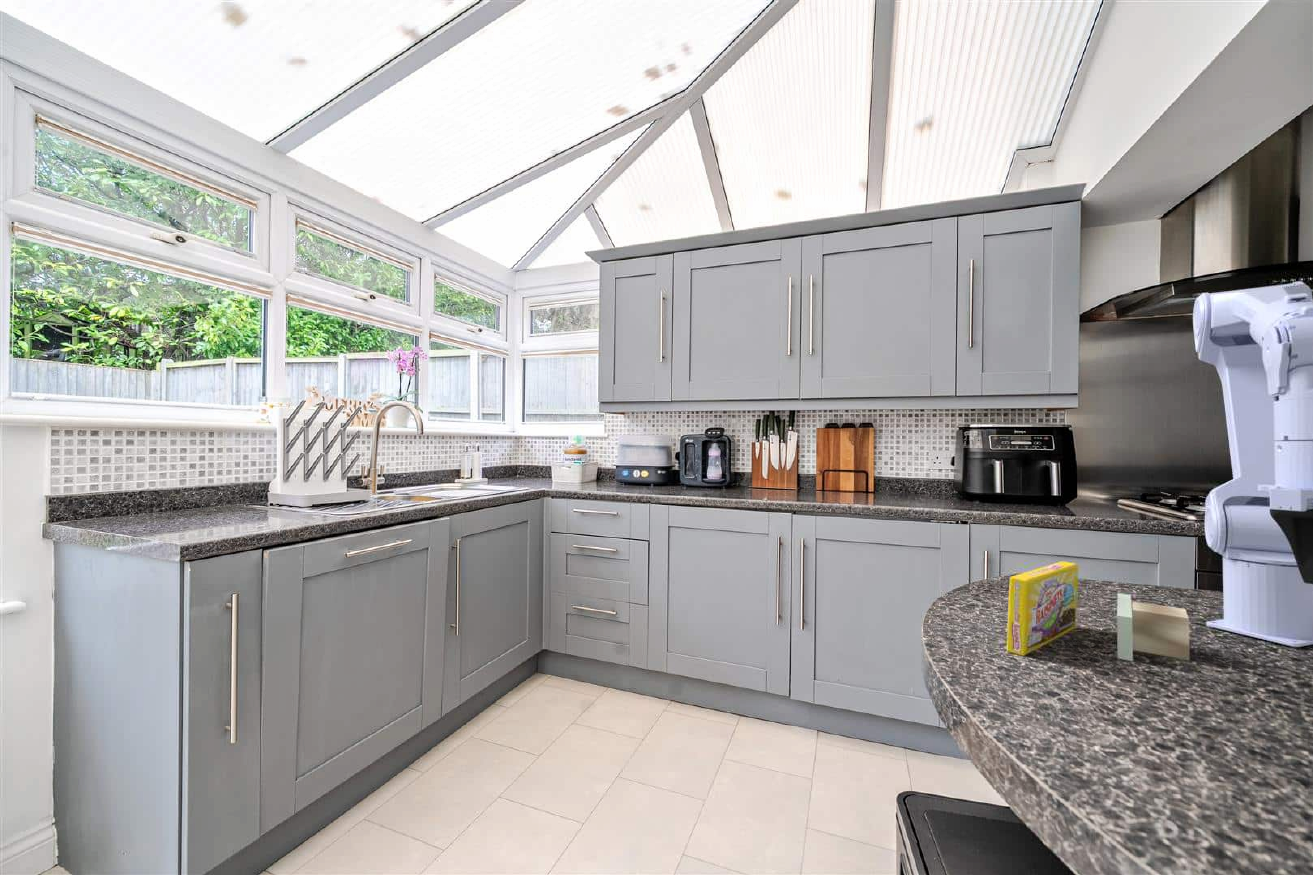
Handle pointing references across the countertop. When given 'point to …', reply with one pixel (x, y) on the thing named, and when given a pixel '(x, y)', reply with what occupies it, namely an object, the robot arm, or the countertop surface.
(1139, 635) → the maple block
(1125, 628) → the sage board
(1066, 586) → the candy box
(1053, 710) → the countertop surface
